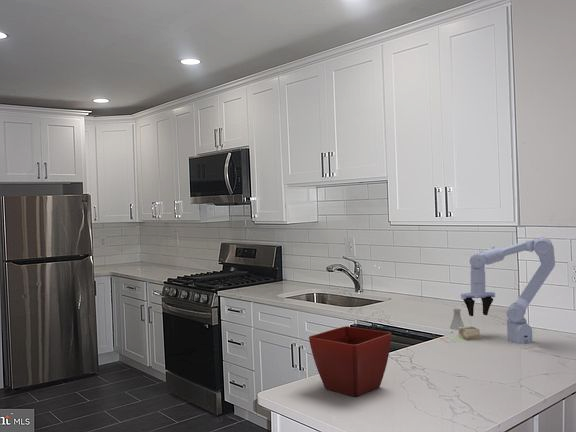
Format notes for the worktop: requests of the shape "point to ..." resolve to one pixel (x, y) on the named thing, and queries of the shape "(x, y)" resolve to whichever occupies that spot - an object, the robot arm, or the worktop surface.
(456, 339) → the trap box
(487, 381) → the worktop surface
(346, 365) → the plant pot
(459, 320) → the flask
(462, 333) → the birch block
